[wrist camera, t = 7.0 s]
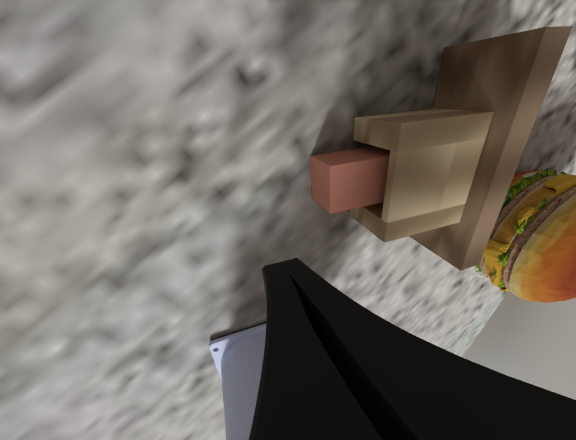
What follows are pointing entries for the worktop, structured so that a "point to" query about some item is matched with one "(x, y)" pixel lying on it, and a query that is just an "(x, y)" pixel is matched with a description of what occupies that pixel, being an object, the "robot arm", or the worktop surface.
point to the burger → (534, 238)
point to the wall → (493, 125)
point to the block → (422, 168)
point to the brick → (349, 178)
